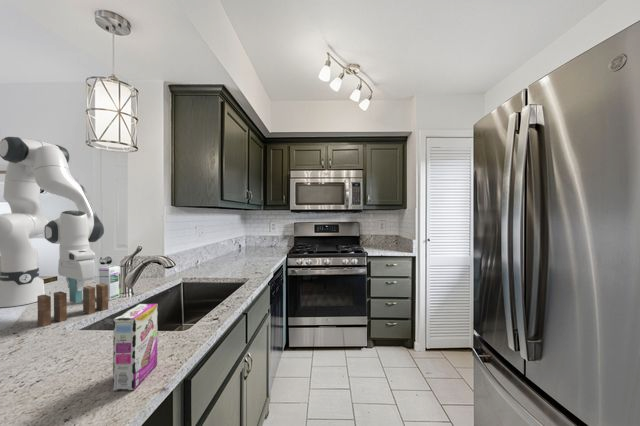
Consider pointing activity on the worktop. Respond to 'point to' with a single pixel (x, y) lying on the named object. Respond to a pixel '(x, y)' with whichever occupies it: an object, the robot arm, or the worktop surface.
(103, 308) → the domino
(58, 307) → the domino
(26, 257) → the robot arm
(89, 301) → the domino
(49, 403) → the worktop surface
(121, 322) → the candy bar box
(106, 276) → the syrup box
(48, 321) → the domino
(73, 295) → the domino
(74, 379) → the worktop surface
